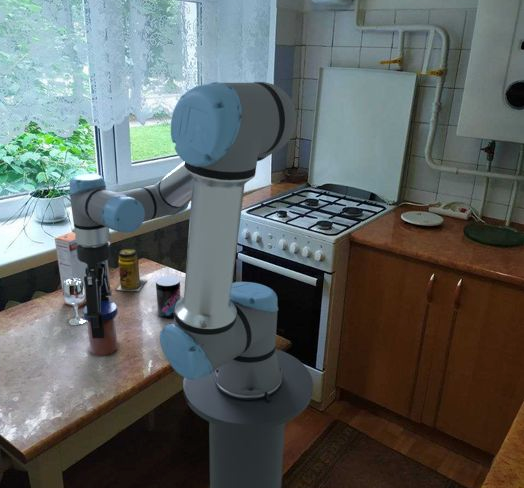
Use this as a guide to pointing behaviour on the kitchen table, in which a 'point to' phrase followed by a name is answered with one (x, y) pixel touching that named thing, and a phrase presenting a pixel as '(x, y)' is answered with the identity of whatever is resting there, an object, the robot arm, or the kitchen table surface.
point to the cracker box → (70, 261)
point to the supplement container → (167, 295)
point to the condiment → (129, 271)
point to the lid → (104, 311)
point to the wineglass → (74, 297)
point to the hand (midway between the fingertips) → (101, 328)
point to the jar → (104, 339)
